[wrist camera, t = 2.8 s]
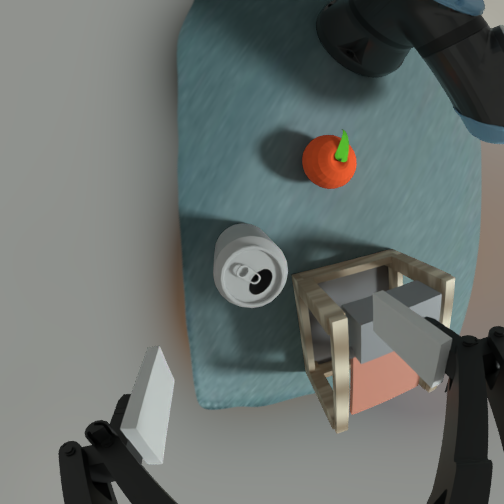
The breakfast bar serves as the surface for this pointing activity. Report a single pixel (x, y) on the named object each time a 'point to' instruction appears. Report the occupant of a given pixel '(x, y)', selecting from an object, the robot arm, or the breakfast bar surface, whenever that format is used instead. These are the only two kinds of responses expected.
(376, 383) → the grey and pink block
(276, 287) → the can
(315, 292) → the frame
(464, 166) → the breakfast bar surface
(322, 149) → the clementine
